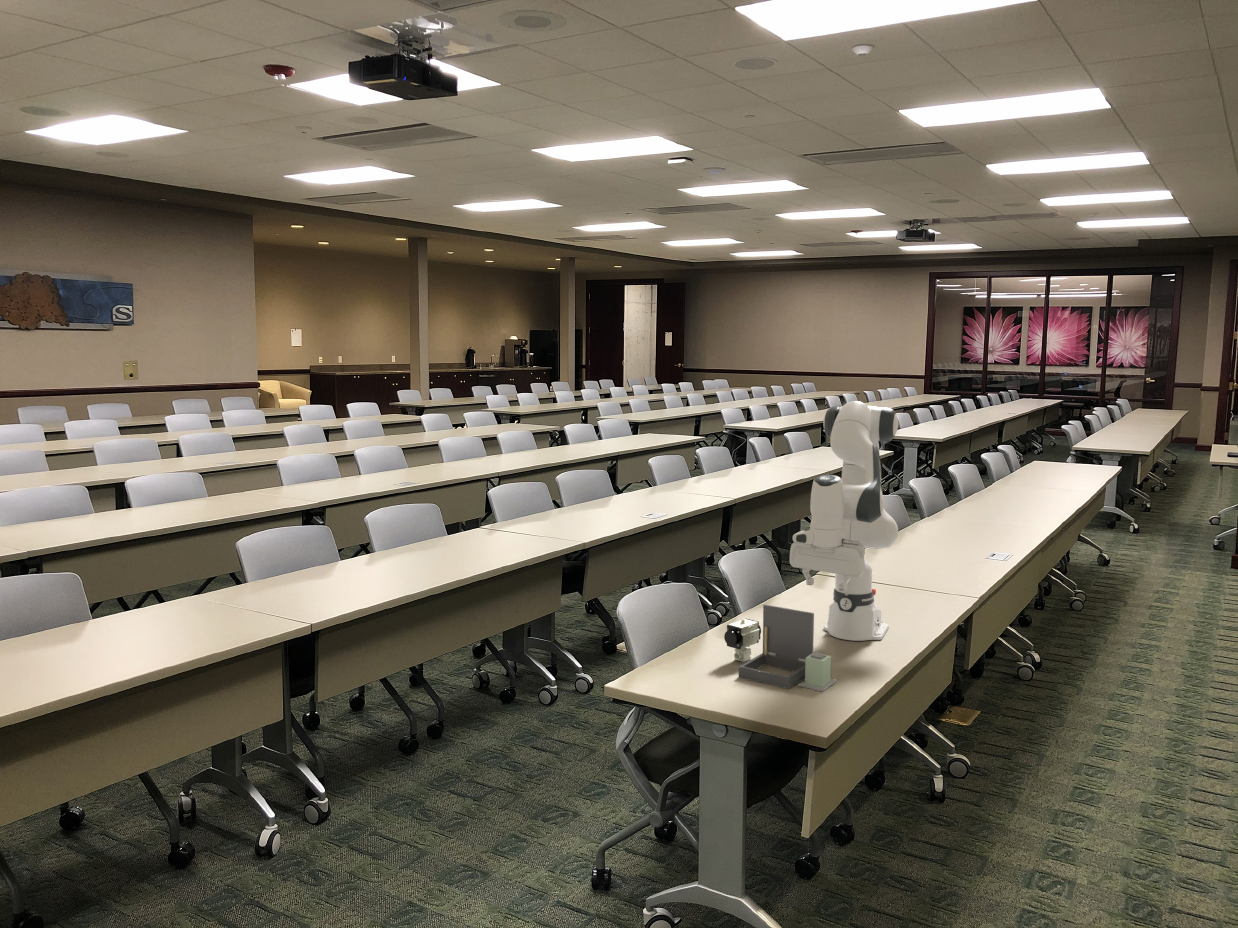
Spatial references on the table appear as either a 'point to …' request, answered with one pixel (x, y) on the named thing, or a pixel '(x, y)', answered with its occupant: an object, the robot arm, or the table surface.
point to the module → (818, 669)
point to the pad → (817, 686)
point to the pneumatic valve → (742, 637)
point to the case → (782, 647)
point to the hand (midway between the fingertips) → (826, 587)
